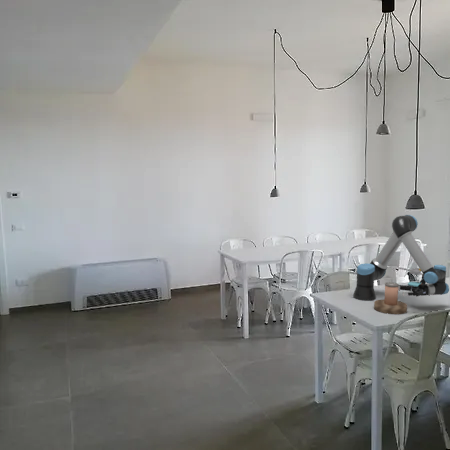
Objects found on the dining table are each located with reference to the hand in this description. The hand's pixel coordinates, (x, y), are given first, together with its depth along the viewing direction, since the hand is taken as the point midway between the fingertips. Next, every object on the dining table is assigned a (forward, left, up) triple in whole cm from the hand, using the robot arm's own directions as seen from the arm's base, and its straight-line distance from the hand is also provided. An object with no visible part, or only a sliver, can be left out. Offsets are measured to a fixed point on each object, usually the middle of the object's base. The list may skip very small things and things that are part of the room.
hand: (396, 291), depth 309 cm
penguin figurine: (+23, +72, -12) cm, 76 cm away
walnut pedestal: (-3, -1, -12) cm, 13 cm away
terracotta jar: (-3, -1, -8) cm, 9 cm away
